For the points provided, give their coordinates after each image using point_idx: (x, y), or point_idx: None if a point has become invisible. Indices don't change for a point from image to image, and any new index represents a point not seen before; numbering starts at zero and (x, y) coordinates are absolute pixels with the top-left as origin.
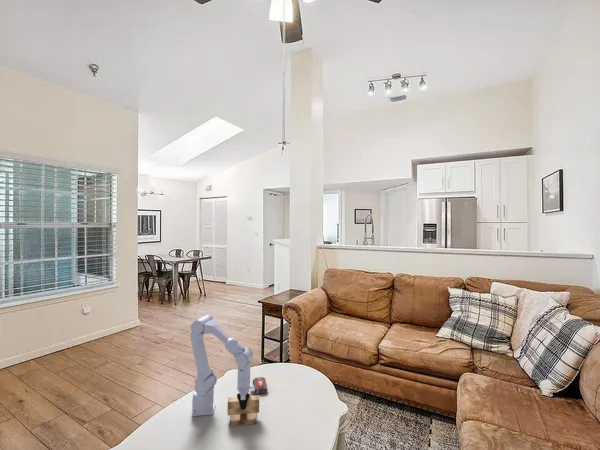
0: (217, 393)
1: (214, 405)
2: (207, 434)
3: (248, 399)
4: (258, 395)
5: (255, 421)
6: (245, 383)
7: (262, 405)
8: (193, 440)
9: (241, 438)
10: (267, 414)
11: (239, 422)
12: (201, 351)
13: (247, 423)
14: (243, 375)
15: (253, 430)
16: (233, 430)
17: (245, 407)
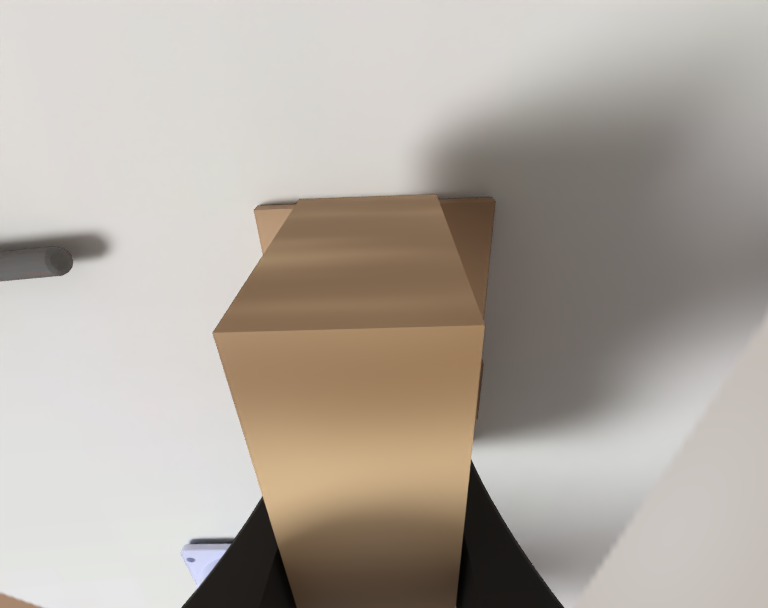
0: (35, 542)
1: (210, 551)
2: (524, 539)
3: (420, 540)
4: (239, 352)
5: (466, 215)
6: None
7: (87, 117)
8: (556, 583)
9: (671, 340)
10: (300, 22)
11: None
12: None
13: (483, 305)
14: None
15: (599, 229)
16: (533, 407)
17: (473, 466)
